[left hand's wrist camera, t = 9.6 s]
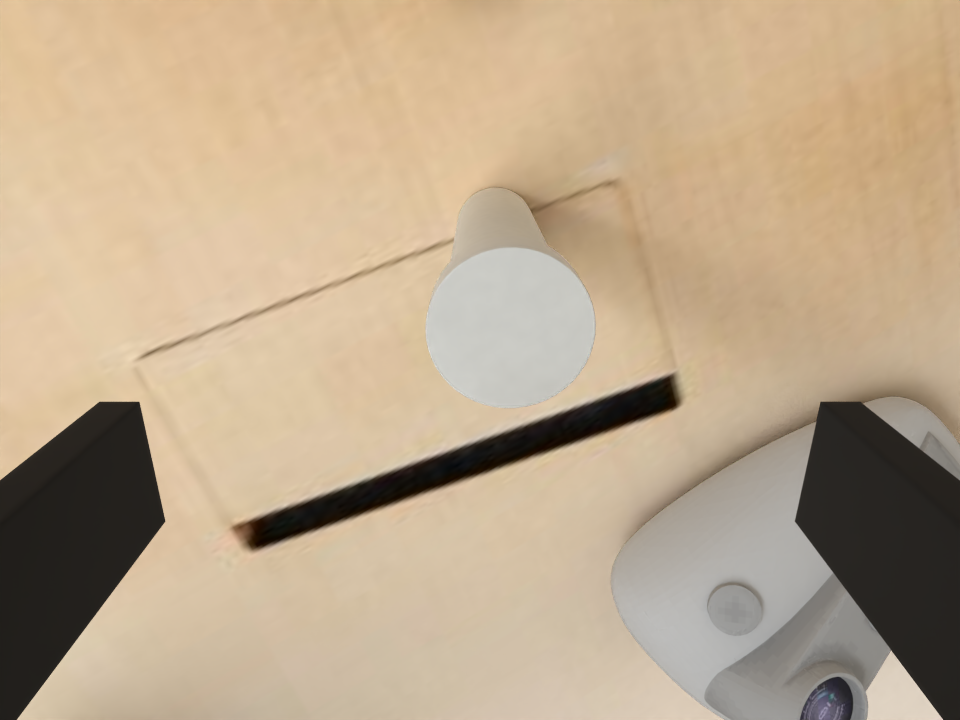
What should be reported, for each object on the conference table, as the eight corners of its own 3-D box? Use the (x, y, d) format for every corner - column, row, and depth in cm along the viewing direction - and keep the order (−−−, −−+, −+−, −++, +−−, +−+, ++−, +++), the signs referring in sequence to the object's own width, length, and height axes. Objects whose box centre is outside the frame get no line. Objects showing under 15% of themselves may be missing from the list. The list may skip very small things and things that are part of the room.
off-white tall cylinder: (441, 230, 38) (411, 334, 21) (491, 170, 37) (503, 228, 19) (499, 278, 39) (515, 415, 22) (548, 221, 38) (608, 319, 21)
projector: (893, 648, 50) (1050, 853, 36) (595, 656, 50) (640, 864, 36) (962, 385, 42) (1199, 521, 28) (606, 396, 42) (669, 537, 28)
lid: (398, 322, 22) (391, 341, 20) (500, 201, 21) (502, 209, 19) (515, 413, 23) (517, 438, 22) (619, 305, 22) (631, 322, 20)
